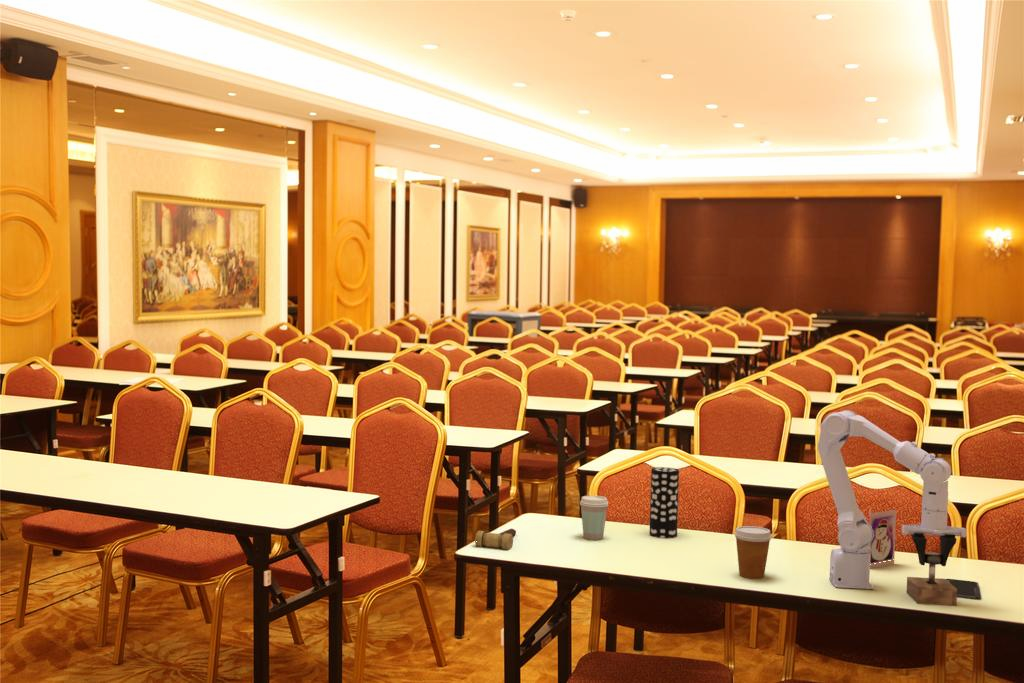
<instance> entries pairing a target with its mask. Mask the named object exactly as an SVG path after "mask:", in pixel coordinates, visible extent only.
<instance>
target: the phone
mask: <svg viewBox="0 0 1024 683" xmlns="http://www.w3.org/2000/svg"><path fill="white" fill-rule="evenodd" d="M945 579H946V580H947V581H948V582H949V583H951V584H952V585H953V586H954V587H955V588H957V599H958V598H960V599H968V600H976V601H979V600H981V597H982V596H981V591H980V584H979V582H977V581H972V580H965V579H964V580H963V579H955V578H945Z"/></svg>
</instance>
